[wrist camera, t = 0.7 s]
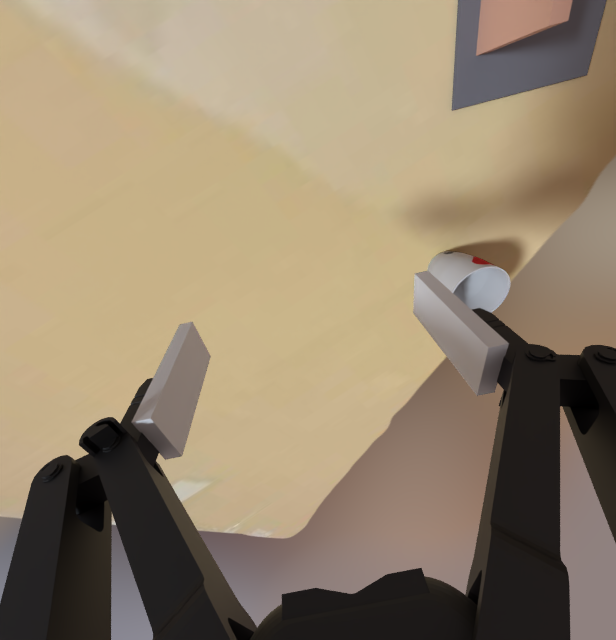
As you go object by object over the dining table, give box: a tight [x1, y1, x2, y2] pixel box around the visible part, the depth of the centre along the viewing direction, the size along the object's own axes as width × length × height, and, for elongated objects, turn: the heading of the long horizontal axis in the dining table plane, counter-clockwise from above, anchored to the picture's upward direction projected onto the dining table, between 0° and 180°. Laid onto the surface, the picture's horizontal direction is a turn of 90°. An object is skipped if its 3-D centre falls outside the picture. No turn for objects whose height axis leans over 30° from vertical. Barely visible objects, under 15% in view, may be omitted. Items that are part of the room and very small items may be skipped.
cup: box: [428, 251, 510, 312], centre depth 42 cm, size 8×8×10 cm
